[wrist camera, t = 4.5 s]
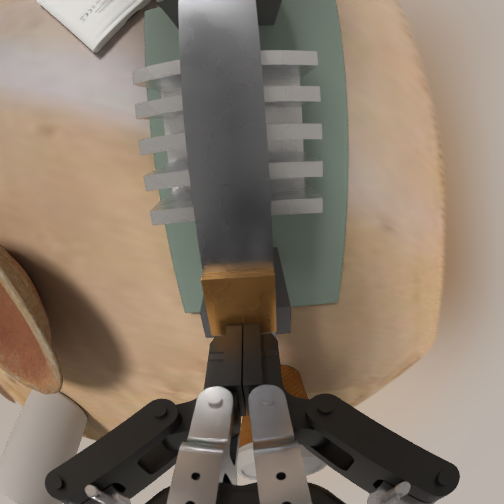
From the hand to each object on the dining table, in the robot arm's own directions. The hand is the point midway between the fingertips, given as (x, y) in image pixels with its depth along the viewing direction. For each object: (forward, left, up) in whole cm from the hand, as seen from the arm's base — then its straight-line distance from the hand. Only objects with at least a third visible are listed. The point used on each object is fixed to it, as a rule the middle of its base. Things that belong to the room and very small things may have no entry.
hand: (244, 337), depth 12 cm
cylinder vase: (+30, -38, -11) cm, 50 cm away
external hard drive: (-25, -11, -12) cm, 30 cm away
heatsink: (-9, 0, -11) cm, 14 cm away
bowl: (+3, -29, -11) cm, 31 cm away
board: (-7, +1, -11) cm, 13 cm away
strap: (-9, 0, -2) cm, 9 cm away
